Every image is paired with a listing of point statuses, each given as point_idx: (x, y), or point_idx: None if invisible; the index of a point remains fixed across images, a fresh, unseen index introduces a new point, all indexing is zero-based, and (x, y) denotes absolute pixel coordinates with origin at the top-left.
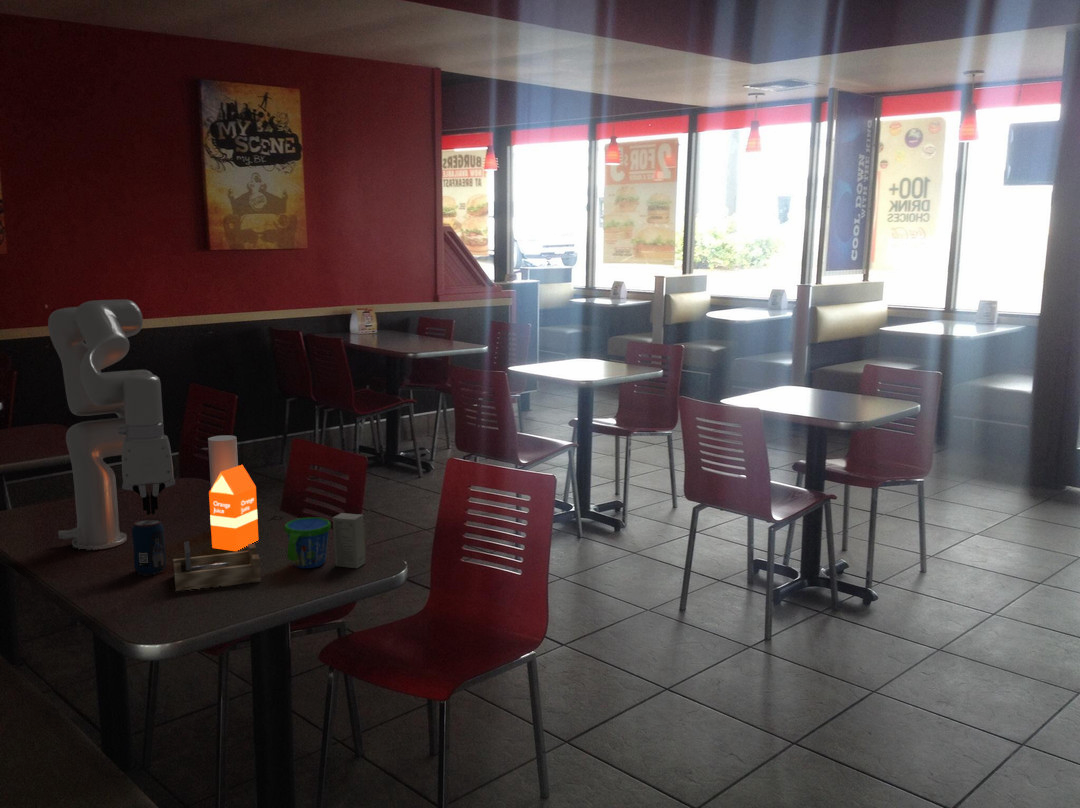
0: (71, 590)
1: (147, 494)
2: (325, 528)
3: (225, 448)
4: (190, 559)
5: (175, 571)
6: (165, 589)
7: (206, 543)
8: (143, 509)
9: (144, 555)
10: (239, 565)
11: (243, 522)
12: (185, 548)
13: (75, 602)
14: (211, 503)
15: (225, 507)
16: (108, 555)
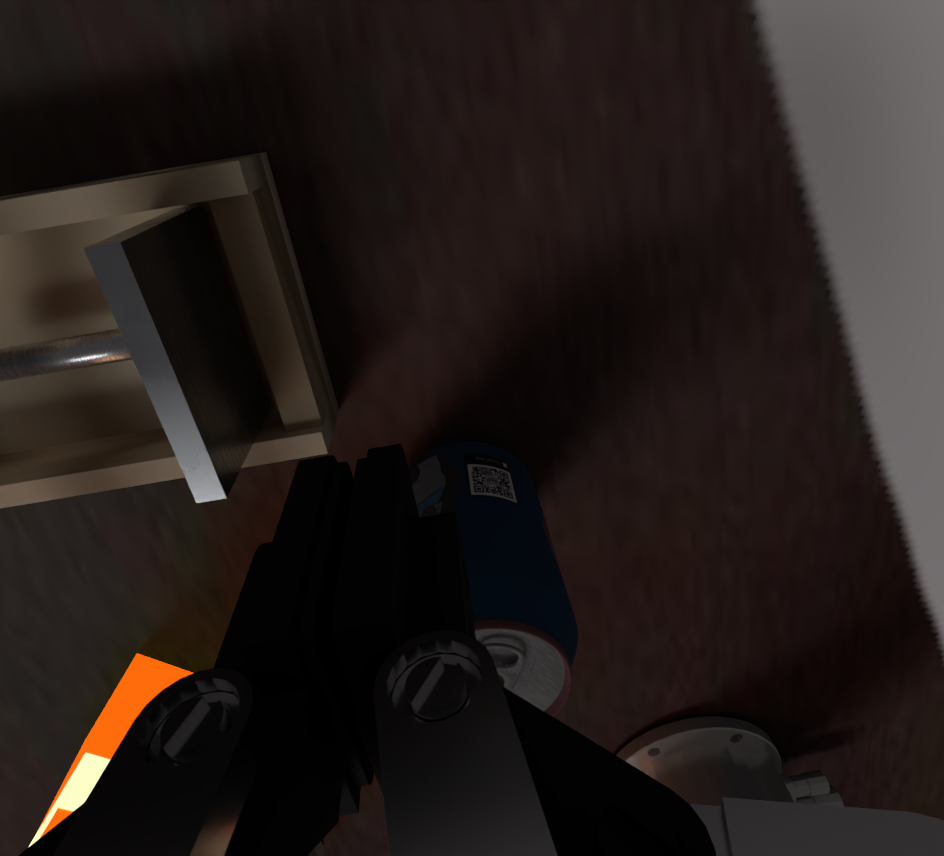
0: (794, 310)
1: (367, 717)
2: None
3: None
4: (112, 236)
5: (269, 273)
6: (338, 219)
7: None
8: (450, 512)
9: (485, 487)
10: (8, 449)
11: (57, 800)
12: (161, 353)
13: (782, 119)
14: None
15: None
16: (652, 670)
